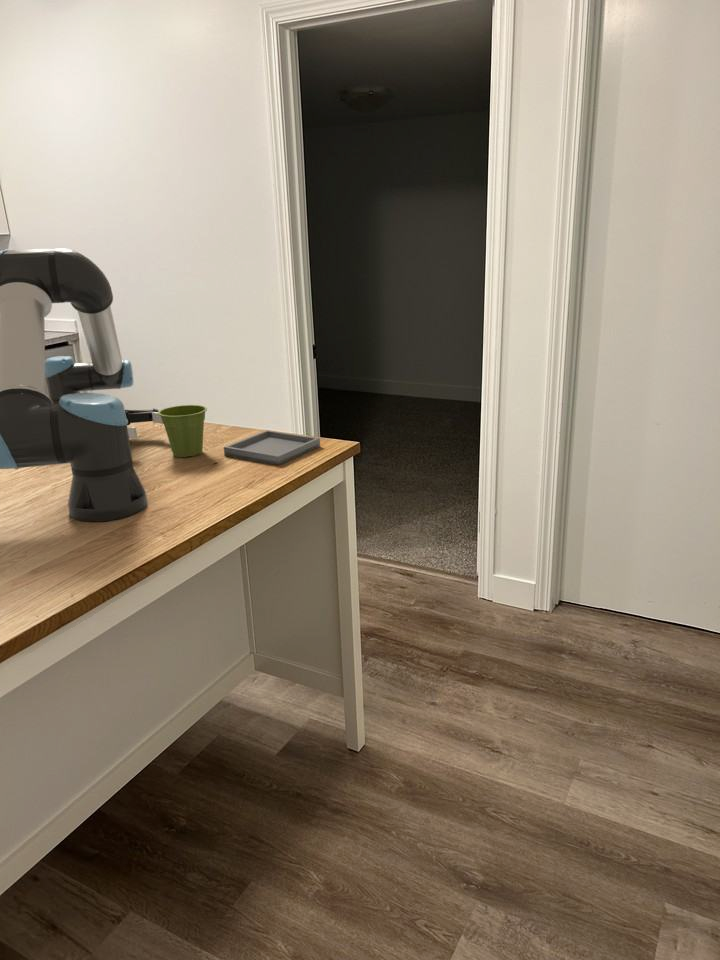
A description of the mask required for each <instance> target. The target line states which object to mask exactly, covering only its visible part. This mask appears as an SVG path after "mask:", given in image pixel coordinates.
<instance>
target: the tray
mask: <svg viewBox="0 0 720 960" xmlns="http://www.w3.org/2000/svg"><path fill="white" fill-rule="evenodd" d="M320 447H321V438H320V437H315V436H308V435H302V434H295V433H289V432H283V431H276V430H275V431H274V430H268V429H267V430H264V431H261V432H258V433H257V434H254V435H250V436H249V437H246V438H243V439H241V440H239V441H236V442H233V443H231V444H228V445H225V446H224V447H223V452H224V456H225V455H226V456H225V457H230V458H235V457H236V459H242V460H248V461H253V462H258V463H263V464H269V465H274V466H281V465H283V464H285V463H287V461H288V462H290V461H292V460H294V459H296V458H299V457H301V456H303V455H305V454H307V453H309V452H311V451H314V450H316V449H318V448H320ZM304 453H305V454H304ZM302 454H303V455H302ZM300 455H301V456H300ZM295 457H296V458H295ZM293 458H294V459H293ZM291 459H292V460H291ZM289 460H290V461H289Z"/></svg>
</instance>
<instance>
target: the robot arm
mask: <svg viewBox="0 0 720 960" xmlns="http://www.w3.org/2000/svg"><path fill="white" fill-rule="evenodd" d="M113 301H114V294H113V291H112V287H111V284H110V281H109V280H108V278H107V277H106V274H105V273H104V271H102V270H101V268H100V267H99V266H98V265H97V264H96V263H95V262H93V261H92V260H91V259H90V258H88V257H87V256H85V255H83V254H82V253H80V252H78V251H75V250H72V249H70V248H64V247H63V248H62V247H59V248H58V247H56V248H30V249H29V248H28V249H27V248H26V249H8V248H7V249H4V250H0V470H11V469H14V470H18V469H22V468H23V469H24V468H33V467H42V466H53V465H61V464H63V465H64V464H69V465H70V467H71V468H70V469H71V474H72V478H71V483H70V490H69V496H68V501H67V502H68V503H67V506H68V512H69V513H68V514H69V515H70V517H71V518H73V519H74V520H78V521H82V522H107V521H114V520H118V519H123V518H127V517H130V516H132V515H134V514H137V513H139V512H140V511H142V510H143V509H144V508H146V506H147V505H148V498H147V493H146V490H145V487H144V485H143V484H142V482H141V480H140V478H139V476H138V474H137V472H136V470H135V468H134V463H133V456H132V449H131V443H130V439H132V440H133V439H135V440H136V439H138V432H137V427H136V426H130V424H133V423H134V424H136V423H145V422H146V423H149V422H150V423H151V422H152V423H154V424H155V423H156V424H162V425H164V424H163V422H162V418H161V416H160V415H159V414H158V412H159V411H160V410H159V409H157V408H152V409H125V405H124V403H123V402H122V400H121V399H119V398H118V397H116V396H114V395H110V394H104V393H100V392H99V393H97V392H91V391H102V390H121V389H126V388H130V387H133V385H134V374H133V373H134V372H133V367H132V366H133V365H132V362H131V361H130V360H128V359H122V353H121V349H120V345H119V340H118V335H117V330H116V326H115V322H114V317H113V312H112V308H111V306H112V304H113ZM63 303H64V304H65V303H70V304H71V306H72V307H73V309H74V310H75V311H77V314H78V317H79V320H80V321H79V322H80V325H81V329H82V332H83V335H84V338H85V342H86V346H87V349H88V352H89V353H88V354H89V357H90V359H91V362H77V363H76V362H75V361H74V357H72V356H69V355H65V356H64V355H59V356H53V357H48V358H46V345H45V343H46V342H45V340H46V339H45V337H46V336H45V332H46V331H45V328H46V327H45V325H46V324H45V318H46V317H47V316H48V315H49V314H50V313H51V310H52V307H53V304H63ZM45 358H46V359H45ZM46 386H47V391H48V395H47V394H46Z"/></svg>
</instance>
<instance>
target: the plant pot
mask: <svg viewBox="0 0 720 960" xmlns="http://www.w3.org/2000/svg"><path fill="white" fill-rule="evenodd" d="M207 410H208V408H207V406H204V405H201V404H199V405H198V404H185V405H184V404H183V405H175V406H170V407H164V408H162V409H160V410H158V411H159V412H158V414H159V415H160V416H161V418H162V422H163V424H162V425H164V429H165V431H166V435H167V439H168V442H169V445H170V449H171V453H172V454H173V456H174V457H176V458H177V457H178V458H186V457H197V456H198V455H200V454H202V453H203V449H204V448H203V447H204V446H203V445H204V426H205V425H204V424H205V420H206V419H205V418H206V412H207Z"/></svg>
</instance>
